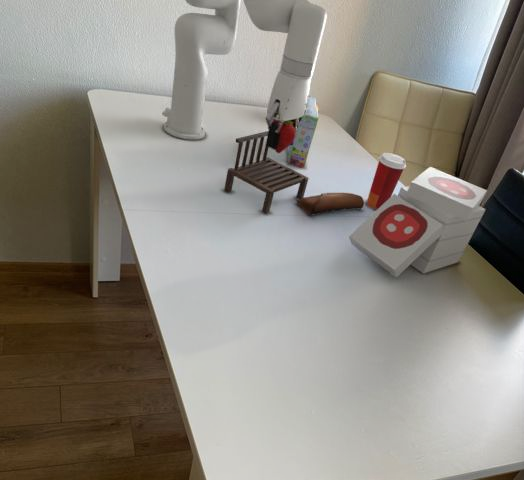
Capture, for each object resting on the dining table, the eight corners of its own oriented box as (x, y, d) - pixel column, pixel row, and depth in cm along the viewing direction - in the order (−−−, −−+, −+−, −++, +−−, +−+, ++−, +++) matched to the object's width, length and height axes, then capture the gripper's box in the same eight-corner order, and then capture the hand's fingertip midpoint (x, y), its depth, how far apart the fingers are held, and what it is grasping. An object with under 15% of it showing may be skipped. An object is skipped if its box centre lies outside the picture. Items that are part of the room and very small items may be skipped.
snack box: (305, 168, 162) (319, 118, 152) (287, 164, 161) (300, 113, 152) (303, 144, 178) (316, 96, 168) (287, 140, 177) (298, 92, 168)
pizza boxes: (338, 246, 129) (363, 175, 117) (414, 228, 146) (442, 165, 134) (396, 290, 119) (429, 217, 107) (470, 265, 136) (505, 200, 125)
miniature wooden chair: (224, 190, 138) (233, 138, 130) (263, 177, 150) (273, 128, 141) (266, 214, 134) (278, 161, 125) (302, 198, 145) (316, 149, 136)
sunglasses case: (343, 195, 151) (357, 181, 146) (352, 217, 150) (367, 204, 145) (293, 200, 142) (306, 186, 136) (303, 224, 141) (317, 210, 135)
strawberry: (278, 160, 130) (288, 118, 124) (259, 147, 134) (267, 106, 128) (295, 158, 134) (306, 117, 127) (276, 145, 138) (285, 105, 131)
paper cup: (390, 205, 155) (409, 158, 146) (386, 215, 149) (405, 167, 140) (365, 196, 156) (382, 149, 147) (360, 205, 150) (377, 157, 141)
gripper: (304, 60, 128) (286, 134, 140) (261, 63, 117) (246, 145, 128) (330, 70, 126) (310, 145, 137) (289, 75, 114) (270, 157, 125)
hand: (279, 144), depth 133 cm, fingers closed on strawberry, 6 cm apart
